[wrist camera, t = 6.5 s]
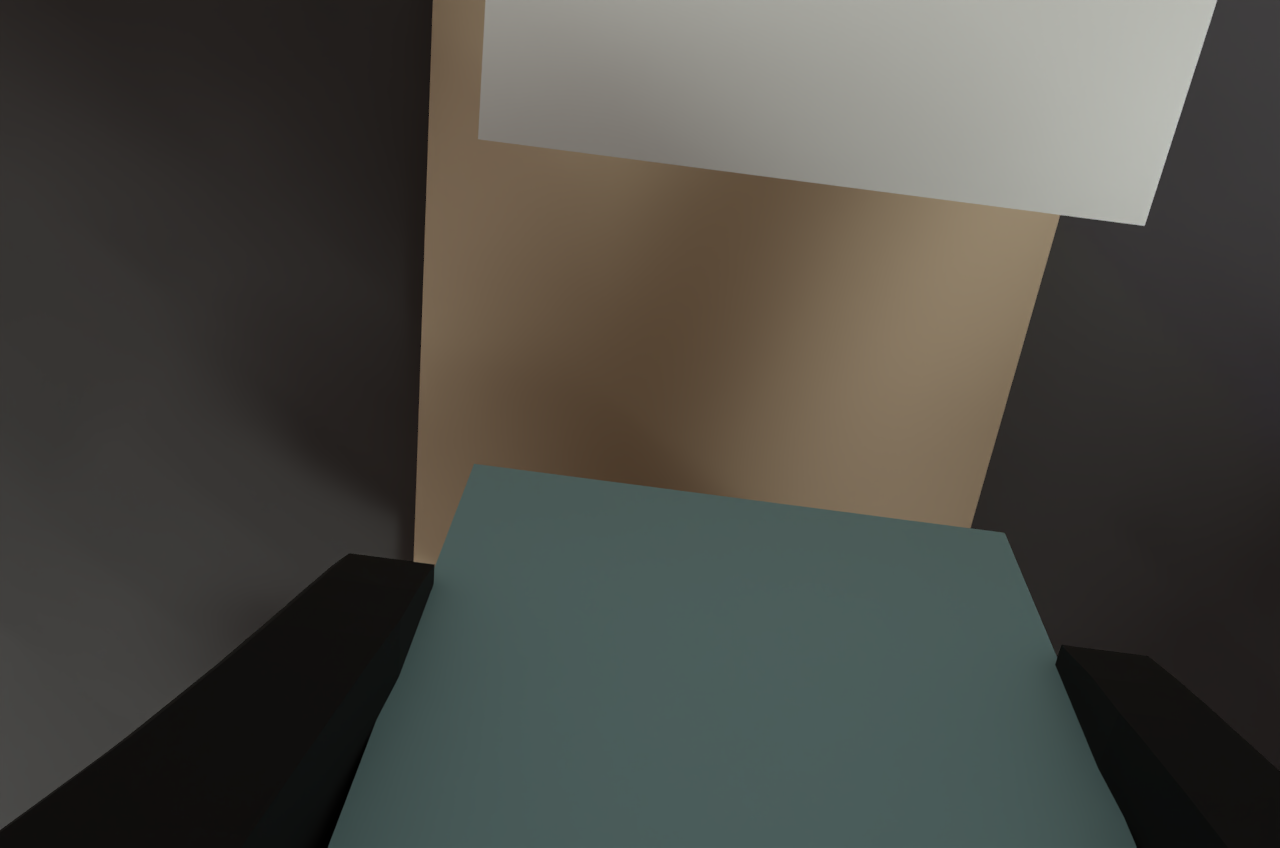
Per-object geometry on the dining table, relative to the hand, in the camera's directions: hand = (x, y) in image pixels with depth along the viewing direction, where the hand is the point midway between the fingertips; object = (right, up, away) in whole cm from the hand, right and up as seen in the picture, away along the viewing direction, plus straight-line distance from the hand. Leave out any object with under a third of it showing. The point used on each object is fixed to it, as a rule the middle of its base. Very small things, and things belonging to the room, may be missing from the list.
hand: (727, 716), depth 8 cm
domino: (+1, +7, +5) cm, 9 cm away
